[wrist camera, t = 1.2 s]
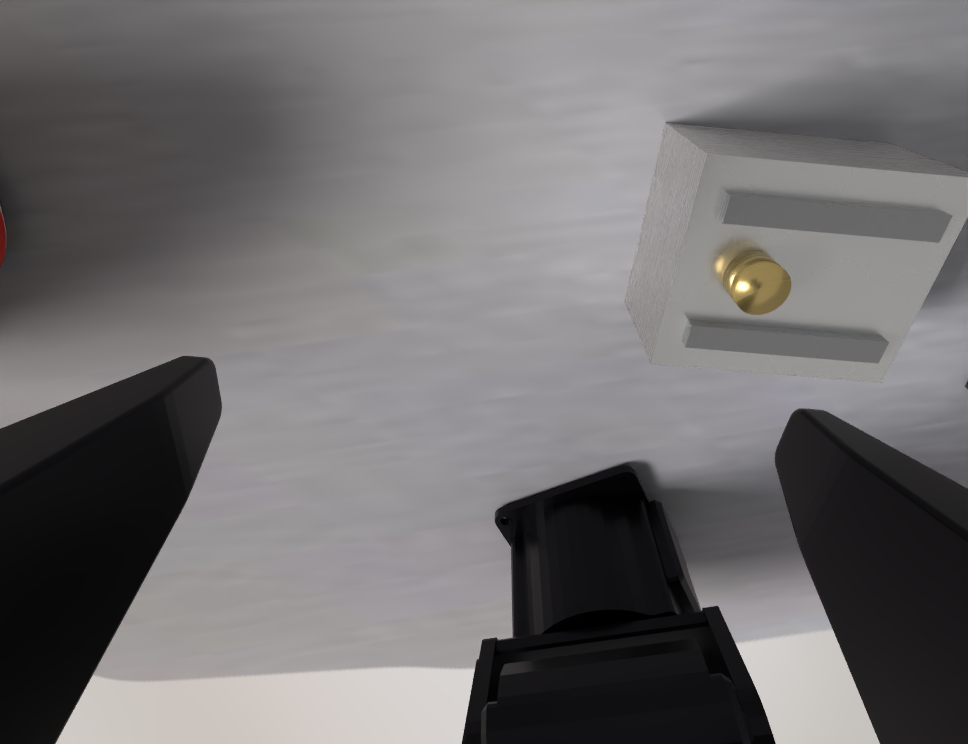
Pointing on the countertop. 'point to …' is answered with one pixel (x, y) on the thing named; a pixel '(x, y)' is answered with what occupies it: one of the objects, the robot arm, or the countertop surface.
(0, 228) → the beverage can
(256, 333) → the countertop surface
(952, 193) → the block
